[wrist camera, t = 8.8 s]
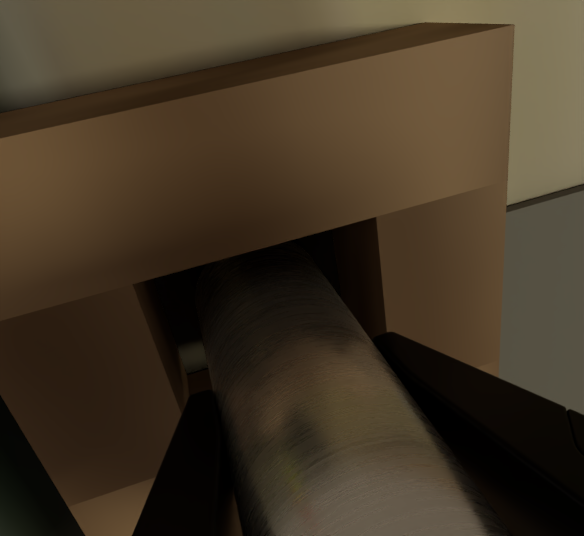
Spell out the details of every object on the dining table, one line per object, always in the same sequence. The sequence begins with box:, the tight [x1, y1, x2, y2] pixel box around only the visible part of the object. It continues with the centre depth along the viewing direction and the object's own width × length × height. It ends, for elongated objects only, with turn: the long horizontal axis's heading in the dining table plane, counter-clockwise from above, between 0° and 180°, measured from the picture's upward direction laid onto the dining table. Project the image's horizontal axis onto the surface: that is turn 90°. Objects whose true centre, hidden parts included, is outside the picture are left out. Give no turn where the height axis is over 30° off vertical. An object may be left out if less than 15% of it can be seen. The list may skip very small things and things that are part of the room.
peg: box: [195, 240, 513, 536], centre depth 8 cm, size 3×3×10 cm
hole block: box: [0, 22, 515, 536], centre depth 14 cm, size 10×20×3 cm, turn 10°
